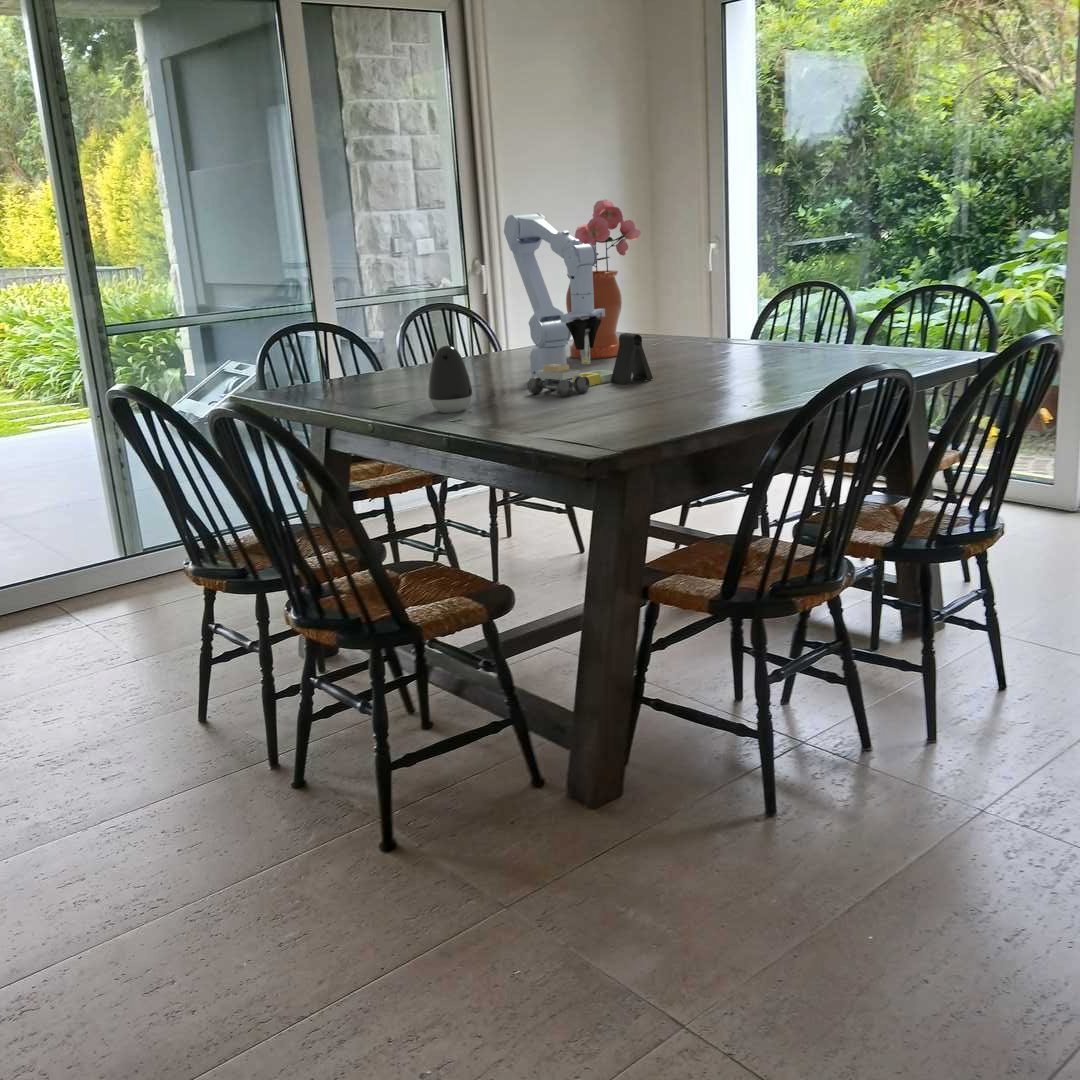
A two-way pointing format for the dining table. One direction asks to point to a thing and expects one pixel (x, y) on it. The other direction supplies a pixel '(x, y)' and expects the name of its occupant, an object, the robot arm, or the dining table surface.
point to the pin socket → (591, 378)
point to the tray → (603, 375)
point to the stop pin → (586, 349)
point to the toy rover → (558, 380)
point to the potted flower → (604, 276)
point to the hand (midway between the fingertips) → (584, 348)
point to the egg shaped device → (449, 381)
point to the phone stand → (630, 360)
